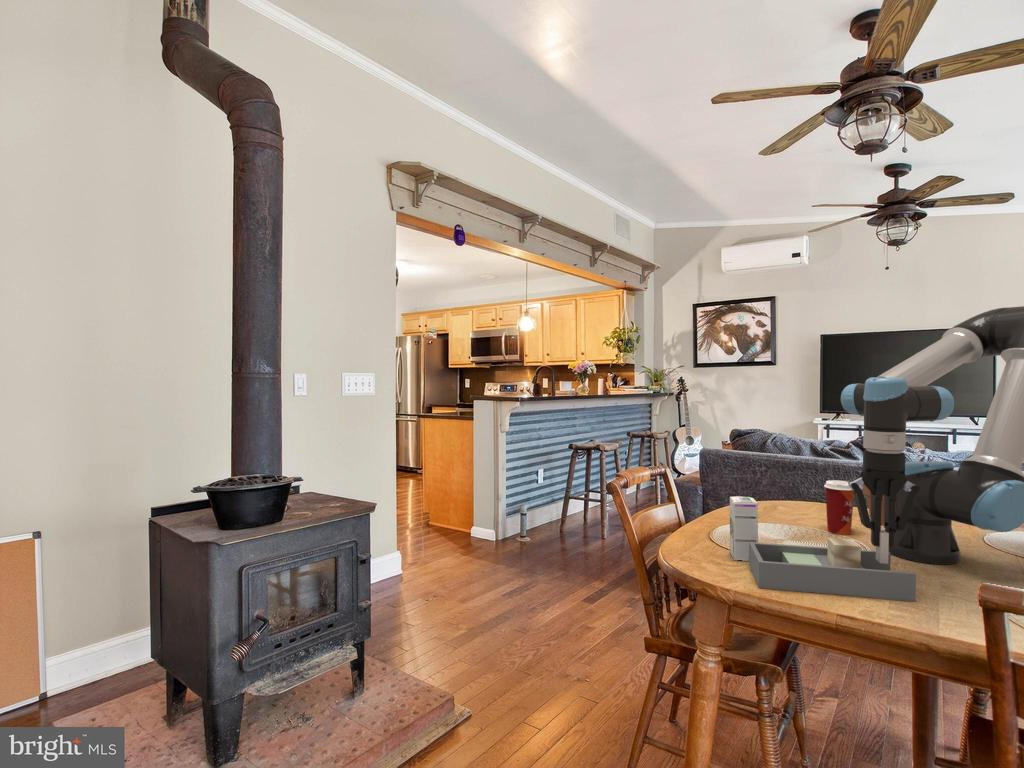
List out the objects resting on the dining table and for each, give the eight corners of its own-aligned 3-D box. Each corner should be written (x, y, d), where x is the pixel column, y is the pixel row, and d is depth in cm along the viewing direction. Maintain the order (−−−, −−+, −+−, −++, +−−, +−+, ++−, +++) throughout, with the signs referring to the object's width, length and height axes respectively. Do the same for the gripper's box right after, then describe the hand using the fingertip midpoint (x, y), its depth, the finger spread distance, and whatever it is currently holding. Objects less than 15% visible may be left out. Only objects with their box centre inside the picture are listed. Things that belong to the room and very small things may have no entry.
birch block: (852, 562, 125) (853, 539, 125) (860, 570, 120) (860, 546, 120) (827, 560, 126) (827, 537, 126) (834, 568, 121) (834, 544, 121)
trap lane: (888, 576, 127) (888, 551, 127) (915, 601, 114) (916, 574, 114) (748, 565, 135) (749, 542, 134) (758, 587, 121) (759, 562, 121)
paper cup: (854, 537, 155) (855, 486, 155) (822, 533, 159) (823, 483, 159) (855, 530, 162) (856, 481, 162) (824, 526, 166) (825, 478, 166)
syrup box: (758, 562, 137) (759, 502, 136) (732, 560, 138) (733, 501, 137) (753, 554, 142) (754, 496, 142) (728, 553, 143) (729, 495, 143)
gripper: (855, 452, 118) (853, 564, 119) (927, 454, 115) (925, 570, 116) (843, 447, 126) (842, 553, 126) (911, 449, 122) (909, 558, 123)
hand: (881, 561), depth 121 cm, fingers closed
